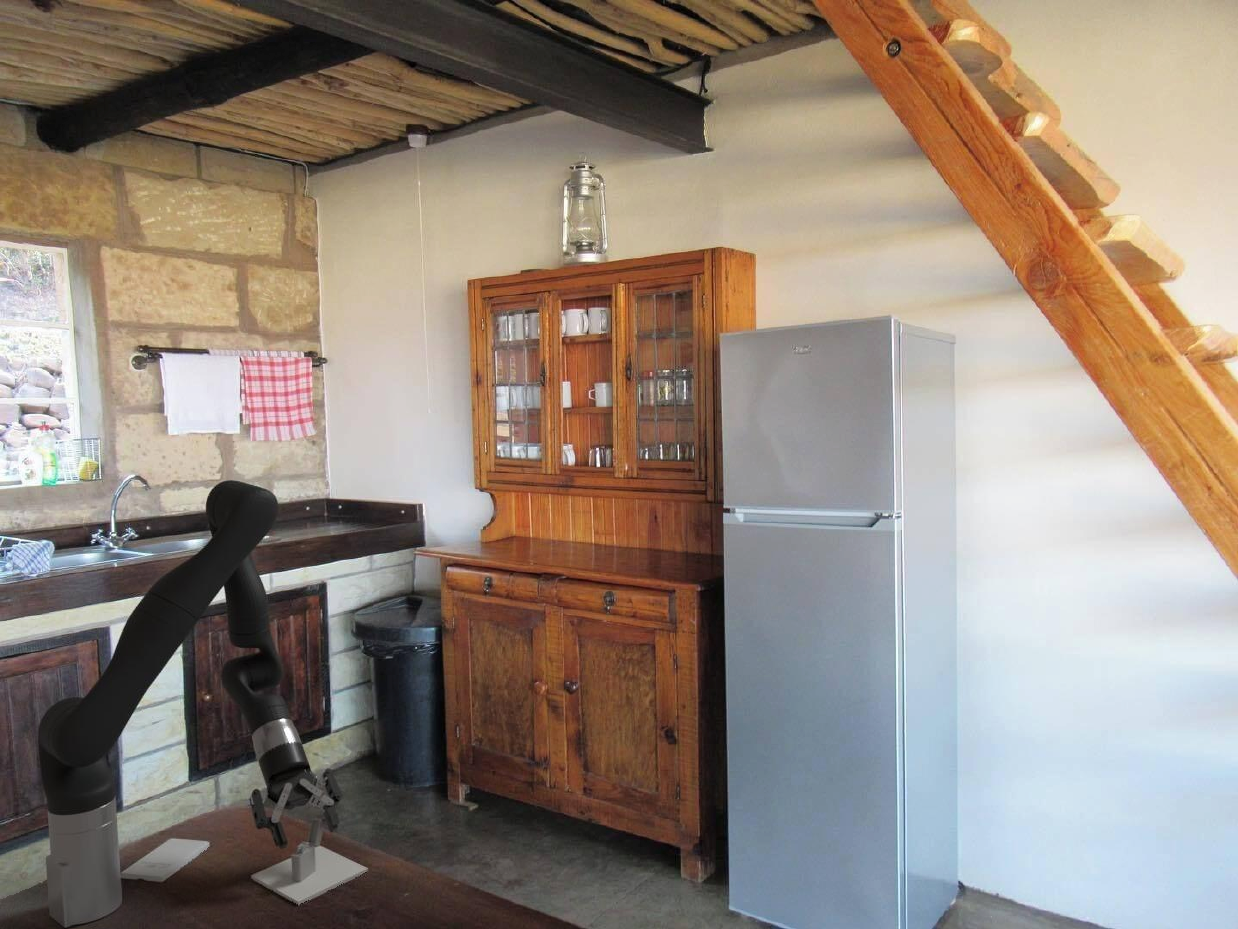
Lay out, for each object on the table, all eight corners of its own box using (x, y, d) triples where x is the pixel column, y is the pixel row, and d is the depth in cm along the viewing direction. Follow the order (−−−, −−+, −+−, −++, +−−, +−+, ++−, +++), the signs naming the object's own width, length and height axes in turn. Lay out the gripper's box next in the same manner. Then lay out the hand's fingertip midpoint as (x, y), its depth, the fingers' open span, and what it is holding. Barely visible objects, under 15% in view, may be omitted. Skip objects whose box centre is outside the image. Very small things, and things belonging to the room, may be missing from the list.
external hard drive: (210, 850, 167) (162, 885, 155) (169, 846, 168) (119, 881, 156) (209, 841, 167) (161, 876, 154) (169, 838, 168) (119, 871, 156)
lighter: (300, 882, 152) (298, 834, 151) (291, 881, 152) (289, 833, 152) (327, 862, 159) (325, 816, 158) (318, 860, 159) (316, 815, 159)
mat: (298, 905, 146) (298, 901, 146) (251, 879, 155) (251, 875, 155) (368, 872, 156) (367, 868, 156) (319, 848, 165) (319, 845, 165)
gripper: (243, 752, 155) (272, 842, 147) (325, 731, 165) (356, 814, 157) (233, 774, 160) (261, 863, 152) (314, 752, 169) (344, 834, 161)
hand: (309, 838), depth 154 cm, fingers open, 8 cm apart
